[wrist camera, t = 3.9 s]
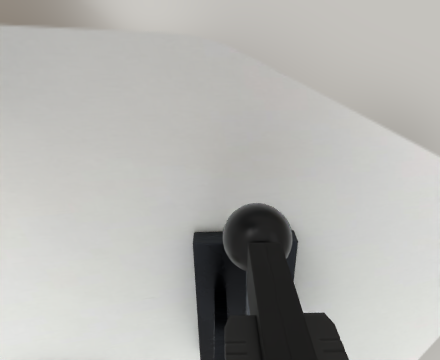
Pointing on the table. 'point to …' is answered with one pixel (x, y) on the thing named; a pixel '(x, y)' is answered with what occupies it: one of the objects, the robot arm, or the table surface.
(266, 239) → the ball knob lever
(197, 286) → the lever base
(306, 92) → the table surface
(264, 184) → the table surface
